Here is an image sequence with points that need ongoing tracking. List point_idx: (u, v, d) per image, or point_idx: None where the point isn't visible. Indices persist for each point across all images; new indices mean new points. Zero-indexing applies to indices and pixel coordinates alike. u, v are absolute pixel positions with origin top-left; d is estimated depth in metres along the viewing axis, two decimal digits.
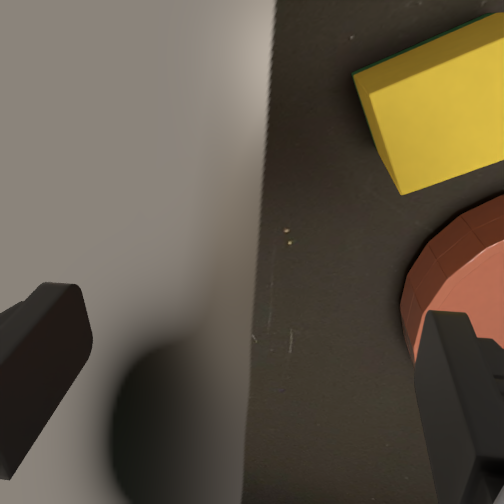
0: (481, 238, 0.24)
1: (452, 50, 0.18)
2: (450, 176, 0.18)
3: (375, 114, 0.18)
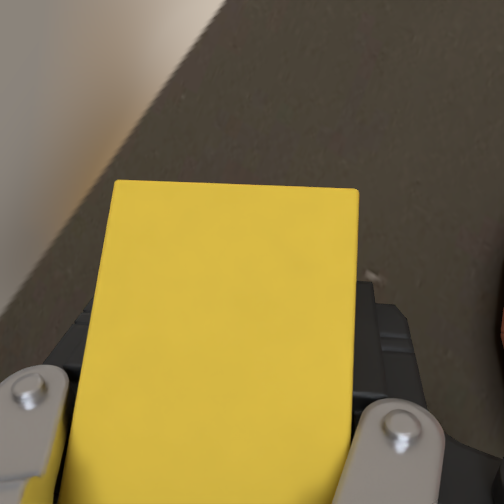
0: None
1: None
2: None
3: None
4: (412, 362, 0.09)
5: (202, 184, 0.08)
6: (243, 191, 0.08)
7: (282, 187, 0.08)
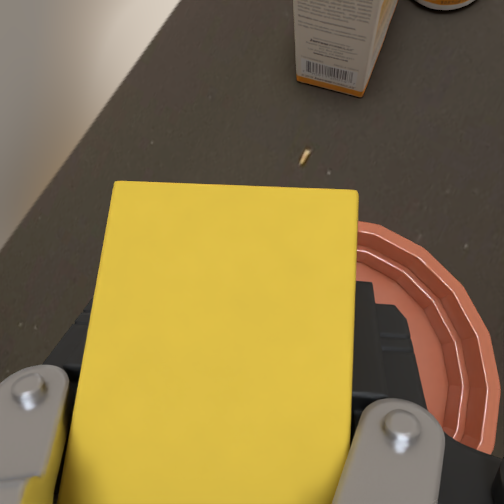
0: None
1: None
2: None
3: None
4: (412, 362, 0.09)
5: (201, 185, 0.08)
6: (242, 192, 0.08)
7: (281, 188, 0.08)
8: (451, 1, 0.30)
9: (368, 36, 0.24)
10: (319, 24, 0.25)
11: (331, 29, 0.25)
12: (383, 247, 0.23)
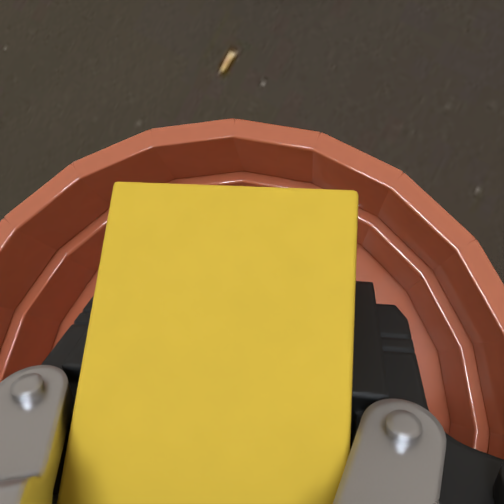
0: None
1: None
2: None
3: None
4: (413, 362, 0.09)
5: (201, 185, 0.08)
6: (242, 193, 0.08)
7: (281, 189, 0.08)
8: None
9: None
10: None
11: None
12: (332, 178, 0.13)
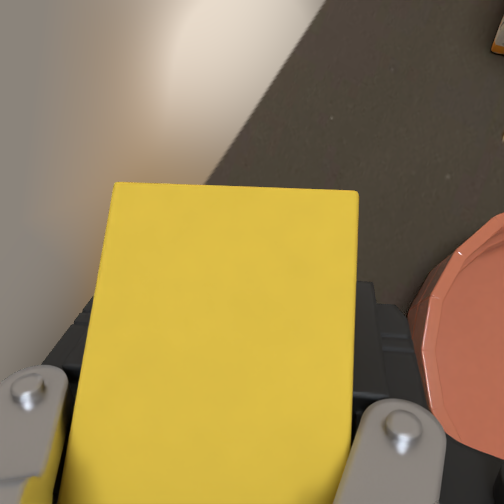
0: None
1: None
2: None
3: None
4: (413, 362, 0.09)
5: (201, 186, 0.08)
6: (242, 193, 0.08)
7: (281, 189, 0.08)
8: None
9: None
10: None
11: None
12: None
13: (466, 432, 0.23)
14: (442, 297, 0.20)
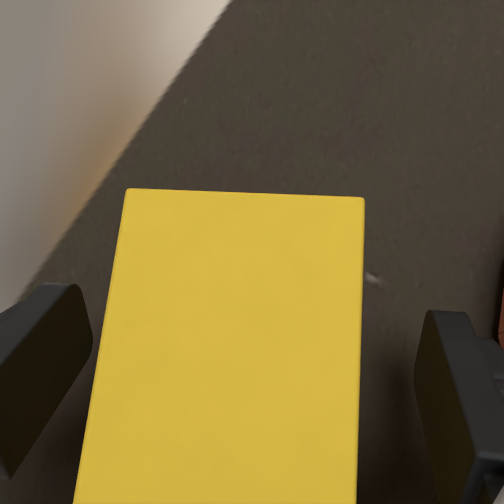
0: None
1: None
2: None
3: None
4: None
5: (211, 193, 0.08)
6: (252, 199, 0.08)
7: (290, 196, 0.08)
8: None
9: None
10: None
11: None
12: None
13: None
14: None
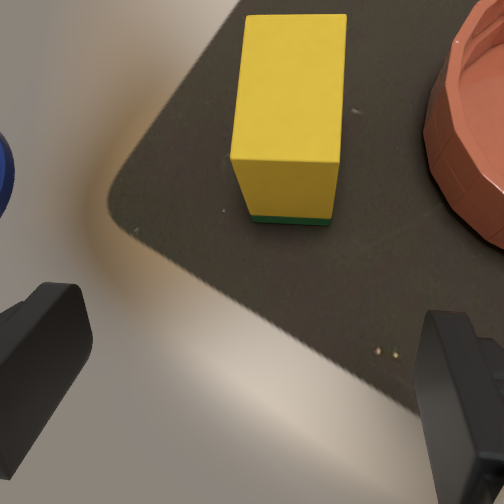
0: (447, 138, 0.22)
1: None
2: (339, 116, 0.18)
3: (250, 159, 0.19)
4: None
5: (283, 15, 0.20)
6: (300, 16, 0.20)
7: (316, 14, 0.20)
8: None
9: None
10: None
11: None
12: None
13: None
14: (464, 41, 0.22)
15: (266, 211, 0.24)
